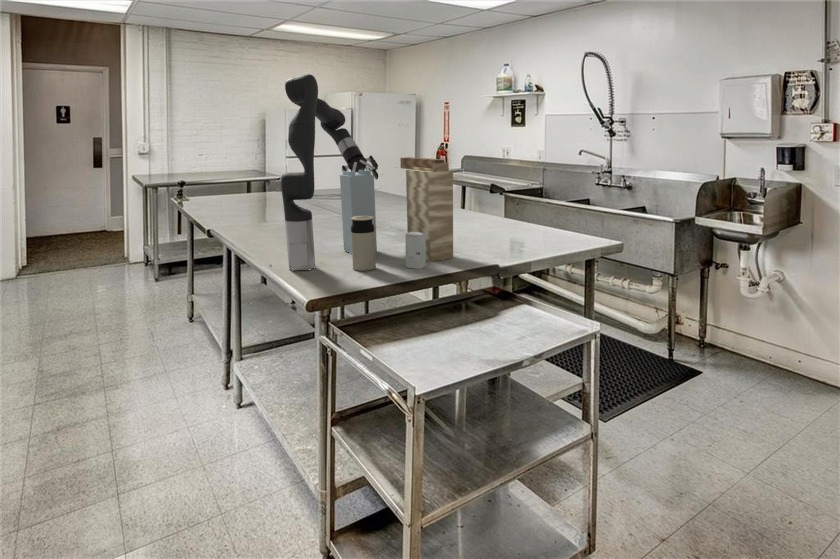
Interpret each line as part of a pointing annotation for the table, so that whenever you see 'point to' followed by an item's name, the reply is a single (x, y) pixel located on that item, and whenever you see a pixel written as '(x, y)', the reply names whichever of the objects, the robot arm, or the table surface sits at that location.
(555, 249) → the table surface
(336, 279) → the table surface
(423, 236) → the skincare box
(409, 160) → the walnut rail
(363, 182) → the slate pedestal
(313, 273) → the table surface
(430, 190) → the birch stand
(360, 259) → the travel mug
